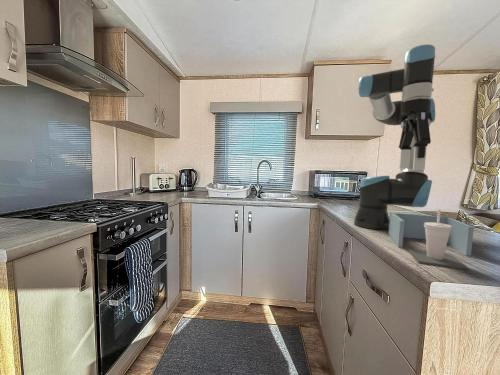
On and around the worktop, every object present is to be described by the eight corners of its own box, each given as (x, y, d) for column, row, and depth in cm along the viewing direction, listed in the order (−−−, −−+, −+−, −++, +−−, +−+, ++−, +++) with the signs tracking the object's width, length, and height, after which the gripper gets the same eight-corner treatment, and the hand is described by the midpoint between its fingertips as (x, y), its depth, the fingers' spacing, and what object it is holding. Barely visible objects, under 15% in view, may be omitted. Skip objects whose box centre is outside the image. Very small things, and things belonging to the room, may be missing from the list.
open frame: (388, 234, 93) (390, 212, 93) (447, 240, 87) (449, 217, 86) (398, 247, 78) (400, 220, 77) (470, 256, 71) (473, 227, 70)
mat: (407, 250, 75) (407, 248, 75) (449, 255, 71) (450, 253, 71) (418, 263, 65) (418, 261, 65) (468, 270, 61) (468, 267, 61)
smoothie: (450, 257, 68) (454, 210, 67) (448, 263, 63) (452, 212, 62) (423, 251, 72) (426, 207, 71) (419, 256, 68) (423, 209, 67)
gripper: (450, 87, 59) (443, 170, 62) (415, 108, 83) (411, 168, 85) (416, 90, 62) (410, 169, 64) (391, 110, 85) (387, 168, 88)
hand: (410, 169), depth 75 cm, fingers open, 13 cm apart
